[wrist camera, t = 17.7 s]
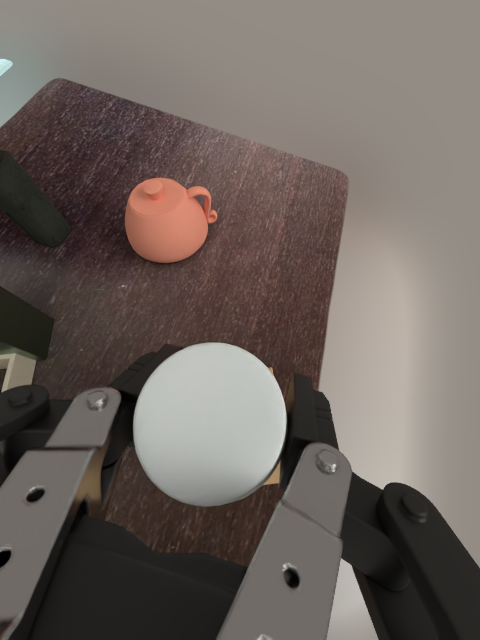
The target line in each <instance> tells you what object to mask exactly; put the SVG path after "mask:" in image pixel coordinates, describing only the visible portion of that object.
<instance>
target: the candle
mask: <svg viewBox="0 0 480 640" xmlns="http://www.w3.org/2000/svg"><path fill="white" fill-rule="evenodd" d="M0 210H1V211H2V212H3V213H4V214H5V215H7V216H8V217H9V218H10V219H11V220H12V221H13V222H14V223H15V224H16V225H17V226H18V227H20V228H21V229H22V230H23V231H24V232H25V233H26V234H27V235H28V236H29V237H30V238H31V239H32V240H34V241H35V242H36V243H38V242H39V243H42V244H45V245H48V246H49V247H57V246H58V245H60V244H61V242H62V241H63V240H64V239H65V238H66V236H67V235H68V234H69V233H70V231H71V226H70V225H69V223H68V222H67V221H66V220H65V219H64V217H63V216H62V215H61V214H60V213H59V211H58V210H57V209H56V208H55V207H54V205H53V204H52V203H51V202H50V201H49V199H48V198H47V197H46V196H45V195H44V193H43V192H42V191H41V190H40V189H39V187H38V186H37V185H36V184H35V183H34V181H33V180H32V179H31V178H30V177H29V175H28V174H27V173H26V172H25V171H24V169H23V168H22V167H21V166H20V165H19V163H18V162H17V161H16V160H15V159H14V157H13V156H12V155H11V154H10V153H9V152H7V151H3V150H0Z"/></svg>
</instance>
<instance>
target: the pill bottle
mask: <svg viewBox="0 0 480 640" xmlns="http://www.w3.org/2000/svg"><path fill="white" fill-rule="evenodd" d="M287 432H288V420H287V413H286V408H285V403H284V399H283V396H282V393H281V390H280V388H279V385H278V383H277V381H276V379H275V378H274V376H273V375H272V373H271V372H270V371H269V369H268V368H267V367H266V366H265V365H264V364H263V363H262V362H261V361H260V360H259V359H258V358H257V357H255V356H254V355H252V354H251V353H249V352H247V351H246V350H244V349H241V348H239V347H236V346H233V345H230V344H225V343H202V344H196V345H193V346H190V347H187V348H184V349H182V350H180V351H178V352H176V353H175V354H173V355H171V356H170V357H169V358H167V359H166V360H165V361H163V362H162V363H161V364H160V365H159V366H158V367H157V368H156V369H155V370H154V372H153V373H152V374H151V375H150V377H149V378H148V380H147V381H146V383H145V385H144V387H143V389H142V391H141V393H140V395H139V397H138V400H137V404H136V407H135V412H134V419H133V437H134V445H135V449H136V453H137V456H138V459H139V461H140V463H141V465H142V467H143V469H144V471H145V473H146V474H147V476H148V477H149V478H150V480H151V481H152V482H153V483H154V484H155V485H156V486H157V487H158V488H159V489H160V490H161V491H163V492H164V493H166V494H167V495H169V496H170V497H172V498H174V499H176V500H178V501H180V502H183V503H186V504H190V505H195V506H205V507H209V506H218V505H223V504H227V503H232V502H235V501H238V500H241V499H243V498H245V497H247V496H249V495H250V494H252V493H253V492H255V491H256V490H257V489H258V488H259V487H261V486H262V485H263V484H264V483H265V482H266V481H267V480H268V479H269V478H270V476H271V475H272V474H273V472H274V471H275V469H276V467H277V466H278V464H279V462H280V460H281V457H282V455H283V452H284V449H285V446H286V441H287Z"/></svg>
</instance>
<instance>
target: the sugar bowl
mask: <svg viewBox="0 0 480 640" xmlns="http://www.w3.org/2000/svg"><path fill="white" fill-rule="evenodd" d="M196 195H204V196H205V205H204V211H203V209H202V207H201V205H200V204H199V202H198V201H197V199H196V198H195V197H194V196H196ZM210 207H211V196H210V194H209V192H208V190H207V189H205V188H204V187H200V186H195V187H192V188H190V189H188V190H186V189H185V188H184V187H183V186H181V185H180V184H178V183H177V182H175V181H173V180H171V179H167V178H154V179H150V180H147V181H144V182H142V183H141V184H139V185H138V186H137V187H135V188H134V190H133V191H132V192H131V194H130V197H129V199H128V203H127V207H126V213H125V228H126V233H127V237H128V240H129V242H130V244H131V246H132V248H133V249H134V250H135V251H136V253H138V254H139V255H140V256H142V257H143V258H145V259H147V260H150V261H153V262H158V263H172V262H177V261H180V260H183V259H185V258H187V257H189V256H191V255H192V254H194V253H195V252H196V251H197V250H198V249H199V248H200V247H201V246H202V244H203V243H204V241H205V239H206V236H207V233H208V223H213V222H215V221H216V220H217V213H216V211H215V210H210ZM210 215H211V216H210Z"/></svg>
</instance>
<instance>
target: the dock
mask: <svg viewBox="0 0 480 640" xmlns="http://www.w3.org/2000/svg"><path fill="white" fill-rule="evenodd" d="M35 364H36V361H35V360H32V359H30V358H27V357H24V356H22V355H19V354H16V353H14V354H5V355H0V369H5V368H7V371H6V375H5V379H4V383H3V387H2V391H1V392H3V391H6V390H8V389H11V388H14V387H17V386H22V385H31V383H32V379H33V374H34V369H35Z"/></svg>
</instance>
